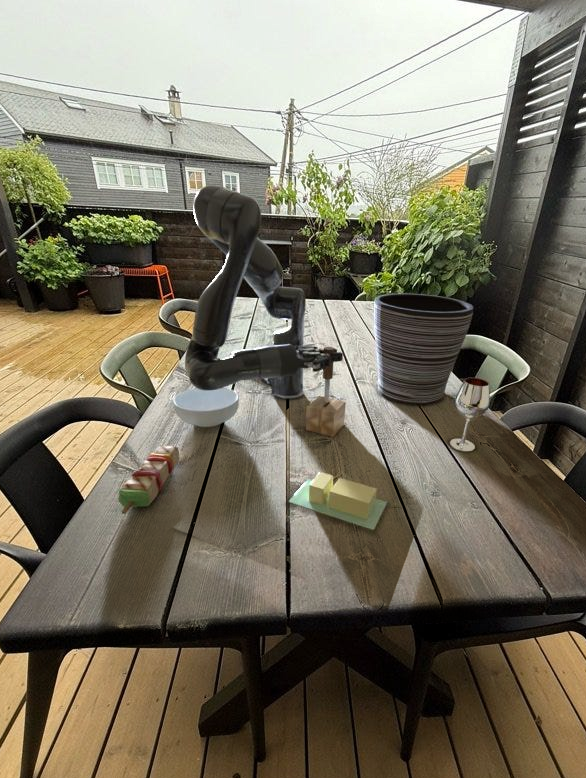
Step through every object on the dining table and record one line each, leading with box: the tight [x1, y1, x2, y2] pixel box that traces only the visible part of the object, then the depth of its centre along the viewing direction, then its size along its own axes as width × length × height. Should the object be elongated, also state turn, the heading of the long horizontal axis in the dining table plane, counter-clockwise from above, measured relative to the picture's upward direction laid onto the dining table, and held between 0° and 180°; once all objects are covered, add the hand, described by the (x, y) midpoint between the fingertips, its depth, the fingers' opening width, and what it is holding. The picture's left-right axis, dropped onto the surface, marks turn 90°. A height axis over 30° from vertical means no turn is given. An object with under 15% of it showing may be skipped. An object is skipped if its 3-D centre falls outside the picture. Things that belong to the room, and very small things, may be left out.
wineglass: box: [449, 377, 491, 453], centre depth 101 cm, size 8×8×18 cm
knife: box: [322, 346, 335, 407], centre depth 104 cm, size 3×3×17 cm
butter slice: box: [309, 471, 334, 505], centre depth 81 cm, size 3×5×4 cm, turn 157°
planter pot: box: [373, 293, 475, 406], centre depth 129 cm, size 30×30×30 cm
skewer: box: [118, 444, 180, 515], centre depth 81 cm, size 21×6×5 cm, turn 178°
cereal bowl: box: [172, 387, 240, 428], centre depth 108 cm, size 17×17×7 cm
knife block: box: [305, 395, 347, 438], centre depth 108 cm, size 8×8×7 cm
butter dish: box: [288, 477, 388, 531], centre depth 79 cm, size 18×9×5 cm, turn 67°
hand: (338, 354), depth 102 cm, fingers closed on knife, 2 cm apart
